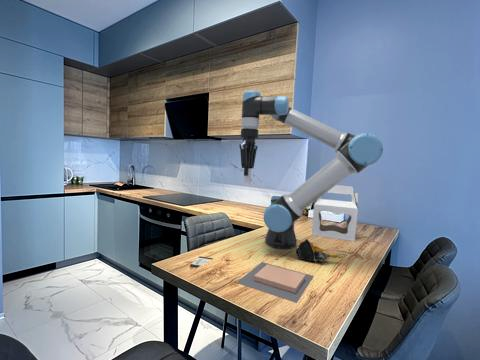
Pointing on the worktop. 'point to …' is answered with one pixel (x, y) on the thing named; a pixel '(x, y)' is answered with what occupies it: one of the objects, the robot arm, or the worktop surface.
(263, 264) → the mat
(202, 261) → the chocolate bar
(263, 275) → the tile
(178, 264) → the worktop surface
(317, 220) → the gable box
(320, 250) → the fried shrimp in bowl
